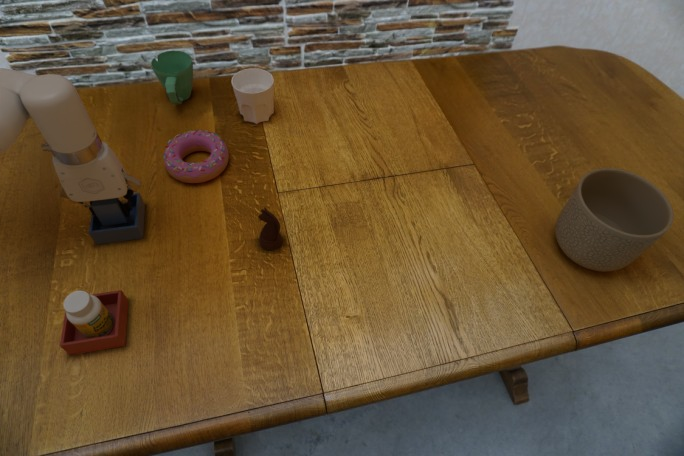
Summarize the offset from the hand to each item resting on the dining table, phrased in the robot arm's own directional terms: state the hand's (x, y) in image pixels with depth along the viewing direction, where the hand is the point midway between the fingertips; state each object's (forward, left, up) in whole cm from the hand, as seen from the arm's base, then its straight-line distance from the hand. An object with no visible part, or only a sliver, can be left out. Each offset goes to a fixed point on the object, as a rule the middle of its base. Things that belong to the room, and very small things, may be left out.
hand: (114, 212), depth 92 cm
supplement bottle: (-2, -23, -4) cm, 24 cm away
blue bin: (0, 0, -4) cm, 4 cm away
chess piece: (+30, -10, -4) cm, 32 cm away
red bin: (-2, -23, -4) cm, 23 cm away
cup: (+31, +31, -4) cm, 44 cm away
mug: (+12, +39, -4) cm, 41 cm away
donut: (+16, +15, -4) cm, 22 cm away
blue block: (0, 0, -1) cm, 1 cm away
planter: (+95, -23, -4) cm, 98 cm away
